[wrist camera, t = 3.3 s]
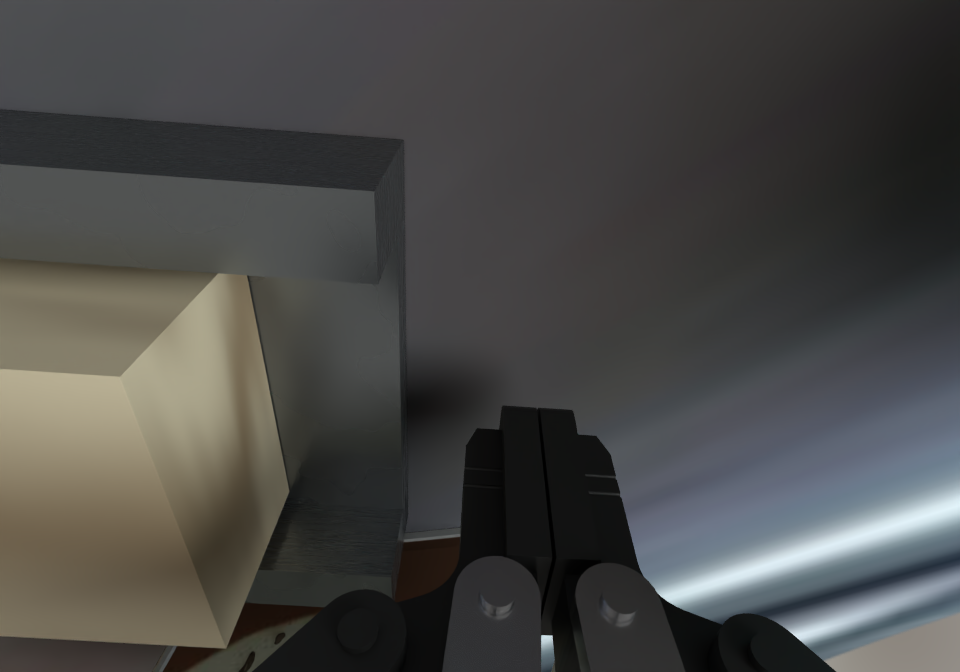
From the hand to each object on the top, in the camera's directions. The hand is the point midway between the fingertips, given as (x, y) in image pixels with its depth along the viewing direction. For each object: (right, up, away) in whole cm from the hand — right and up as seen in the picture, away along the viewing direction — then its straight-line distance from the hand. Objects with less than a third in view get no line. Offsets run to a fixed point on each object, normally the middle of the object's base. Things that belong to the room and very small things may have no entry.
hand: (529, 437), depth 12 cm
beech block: (-9, +1, +1) cm, 9 cm away
